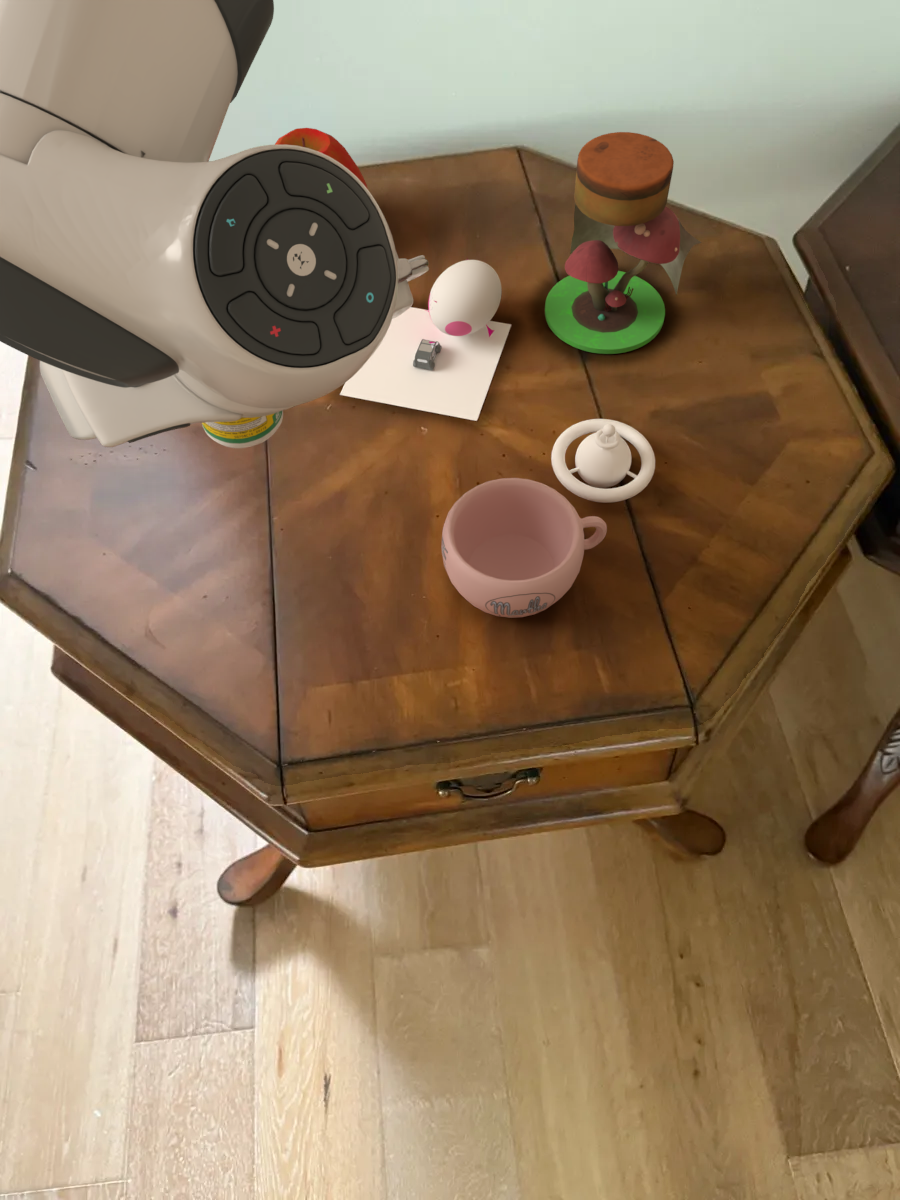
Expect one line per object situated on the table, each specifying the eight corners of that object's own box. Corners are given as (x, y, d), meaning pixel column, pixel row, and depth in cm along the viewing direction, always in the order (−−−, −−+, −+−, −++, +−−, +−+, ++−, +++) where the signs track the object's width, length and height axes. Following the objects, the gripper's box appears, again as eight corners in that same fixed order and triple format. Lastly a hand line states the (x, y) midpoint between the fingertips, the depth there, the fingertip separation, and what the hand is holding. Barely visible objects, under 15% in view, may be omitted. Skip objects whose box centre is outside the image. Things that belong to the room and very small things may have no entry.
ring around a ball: (619, 423, 79) (531, 455, 77) (630, 373, 74) (536, 406, 73) (670, 494, 75) (579, 529, 74) (684, 446, 70) (588, 483, 69)
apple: (257, 218, 95) (235, 116, 86) (359, 197, 97) (347, 94, 88) (279, 284, 90) (258, 181, 81) (386, 260, 91) (376, 157, 82)
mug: (461, 648, 68) (460, 603, 63) (429, 539, 73) (425, 488, 68) (624, 611, 69) (635, 564, 64) (580, 506, 75) (587, 455, 70)
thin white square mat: (511, 324, 86) (511, 311, 85) (476, 420, 80) (476, 407, 78) (383, 302, 88) (381, 288, 87) (339, 394, 82) (337, 381, 80)
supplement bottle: (198, 402, 65) (158, 285, 57) (276, 384, 66) (248, 266, 58) (210, 460, 62) (170, 345, 54) (292, 440, 63) (264, 325, 55)
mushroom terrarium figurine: (661, 376, 82) (695, 221, 69) (521, 340, 85) (529, 185, 72) (695, 289, 88) (732, 132, 75) (563, 258, 91) (577, 101, 78)
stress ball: (464, 322, 90) (427, 260, 87) (531, 302, 85) (495, 235, 82) (426, 371, 87) (386, 309, 83) (495, 354, 81) (454, 286, 78)
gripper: (416, 192, 48) (356, 249, 61) (10, 329, 44) (38, 360, 57) (459, 316, 50) (392, 346, 63) (72, 461, 45) (85, 461, 58)
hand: (222, 353), depth 60 cm, fingers closed on supplement bottle, 5 cm apart
